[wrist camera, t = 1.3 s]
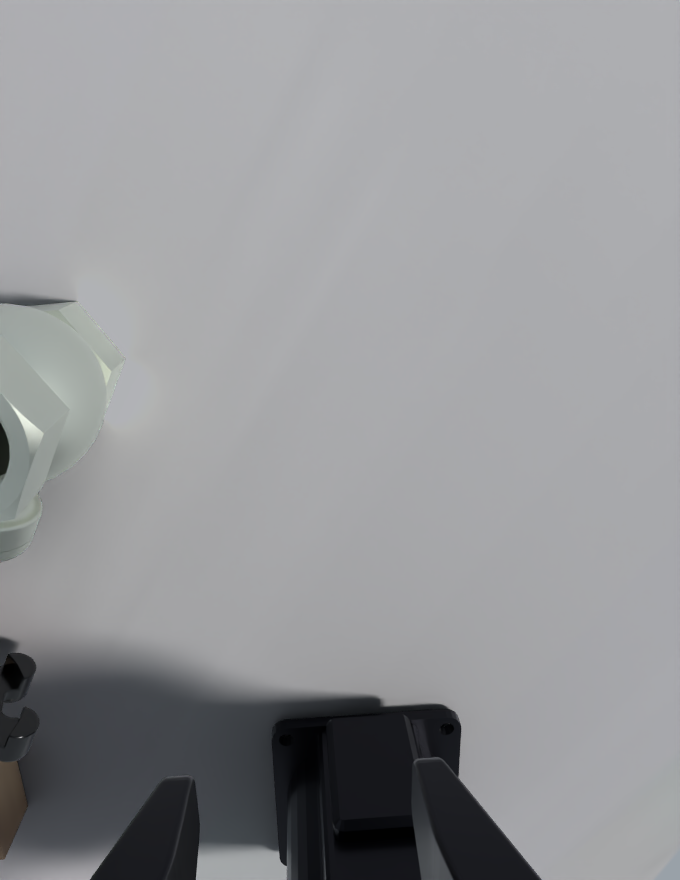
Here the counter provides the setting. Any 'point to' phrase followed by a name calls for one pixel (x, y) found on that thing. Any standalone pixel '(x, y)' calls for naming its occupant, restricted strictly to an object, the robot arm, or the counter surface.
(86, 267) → the counter surface
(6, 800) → the hinge jig
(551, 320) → the counter surface
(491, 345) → the counter surface
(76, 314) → the valve
